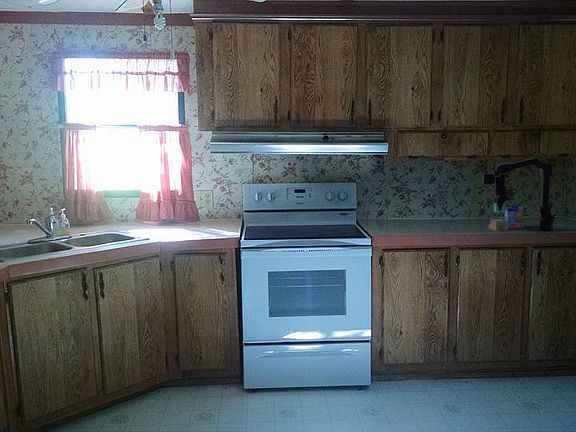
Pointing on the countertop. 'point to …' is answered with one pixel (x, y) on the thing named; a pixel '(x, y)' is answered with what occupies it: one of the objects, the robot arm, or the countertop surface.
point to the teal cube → (498, 209)
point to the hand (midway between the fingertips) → (499, 210)
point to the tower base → (498, 227)
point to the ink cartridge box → (514, 216)
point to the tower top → (498, 222)
